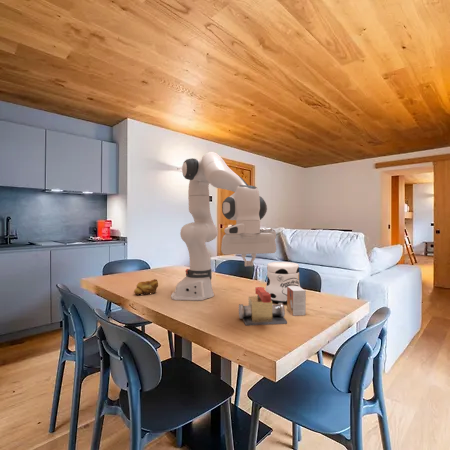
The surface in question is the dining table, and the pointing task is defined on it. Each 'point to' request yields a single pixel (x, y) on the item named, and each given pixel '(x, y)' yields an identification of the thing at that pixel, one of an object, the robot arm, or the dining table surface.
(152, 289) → the bread roll
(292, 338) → the dining table surface
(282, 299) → the milk container
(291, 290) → the small box
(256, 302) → the valve
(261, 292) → the lever
